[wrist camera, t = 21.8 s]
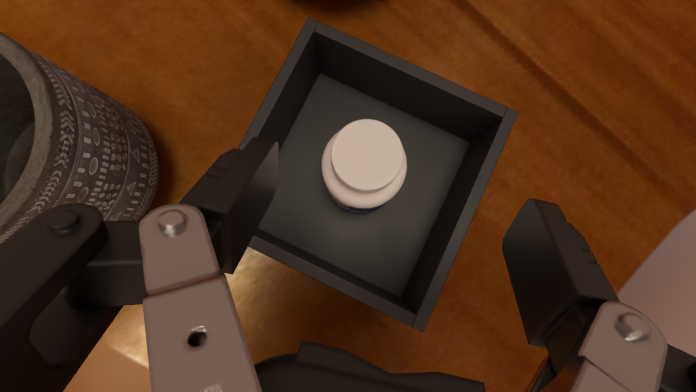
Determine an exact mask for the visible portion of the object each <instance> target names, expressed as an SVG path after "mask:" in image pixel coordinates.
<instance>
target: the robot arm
mask: <svg viewBox="0 0 696 392" xmlns="http://www.w3.org/2000/svg"><path fill="white" fill-rule="evenodd" d="M278 154H279V146H278V142H276V141H271V140H267V139H262V138H258V137H253V138H252V139H251V140H250V141H249V143H248V144H247V145H246V146H245V148H244V149H243V150H240V149H235V148H234V149H232V150H230V151H228V152H226V153H224V154H222V155H221V156H220V157H219V158H218V159H217V160H216V161H215V163H214V164H213V165H212V167H210V168H209V169H208V170H207V172H206V173H205V175H203V176H202V177H201V178H200V180H199V181H198V182H197V183H196V184H195V185H194V186H193V187H192V189H191V190H190V191H189V192H188V193H187V194H186V195H185V197H184V198H183V199H182V200H181V201H180V202H179V203H178V204H169V205H164V206H161V207H158V208H156V209H154V210H152V211H151V212H149V213H148V214H146V215H145V216H144V218H143V219H142V220H136V221H104V219H103V216H102V214H101V212H100V210H99V209H98V208H96V207H94V206H92V205H89V204H83V203H72V204H64V205H60V206H56V207H53V208H50V209H48V210H46V211H43V212H42V213H40V214H38V215H37V216H35V217H34V218H33V219H31V220H30V221H29V222H28V223H26V224H25V225H24V226H23V227H21V228H20V229H19V230H18V231H17V232H15V233H14V234H13V235H12V236H10V237H9V238H8V239H7V240H5V241H4V242H3V243H2V244H0V392H63V391H64V389H65V388H66V386H67V385H68V383H69V382H70V381H71V379H72V377H73V376H74V375H75V374H76V372H77V371H78V369H79V368H80V367H81V365H82V364H83V362H84V361H85V359H86V358H87V357H88V355H89V354H90V352H91V351H92V350H93V348H94V347H95V345H96V344H97V343H98V341H99V340H100V338H101V337H102V335H103V334H104V333H105V331H106V330H107V328H108V327H109V326H110V324H111V323H112V321H113V320H114V318H115V317H116V316H117V314H118V313H119V311H120V310H121V309H122V307H123V306H124V305H136V304H143V312H144V321H145V331H146V341H147V350H148V360H149V369H150V379H151V388H152V392H485V386H484V383H483V382H479V381H475V380H470V379H466V378H462V377H457V376H453V375H449V374H445V373H440V372H429V373H404V374H393V373H389V372H387V371H385V370H383V369H381V368H379V367H377V366H375V365H373V364H371V363H369V362H367V361H365V360H363V359H361V358H360V357H358V356H356V355H354V354H352V353H350V352H348V351H346V350H342V349H338V348H334V347H329V346H325V345H321V344H317V343H312V342H308V341H304V340H301V343H300V346H299V350H298V353H290V354H283V355H277V356H274V357H270V358H267V359H264V360H262V361H260V362H257V363H255V364H253V361H252V358H251V355H250V352H249V348H248V345H247V342H246V339H245V336H244V333H243V329H242V326H241V323H240V320H239V317H238V314H237V310H236V307H235V304H234V301H233V298H232V295H231V291H230V288H229V285H228V282H227V279H226V276H225V274H224V273H228V274H233V273H234V271H235V269H236V267H237V265H238V263H239V262H240V260H241V258H242V256H243V254H244V252H245V250H246V249H247V247H248V245H249V243H250V241H251V239H252V237H253V236H254V234H255V232H256V230H257V228H258V226H259V224H260V223H261V221H262V219H263V217H264V215H265V213H266V211H267V209H268V208H269V206H270V204H271V202H272V200H273V198H274V195H275V192H276V188H277V181H278ZM502 249H503V254H504V258H505V261H506V265H507V269H508V272H509V276H510V279H511V283H512V286H513V290H514V294H515V297H516V301H517V304H518V308H519V312H520V315H521V319H522V322H523V326H524V330H525V333H526V337H527V340H528V344H531V345H535V346H540V347H544V348H547V350H548V353H549V355H548V356H547V357H546V358H545V359H544V360H543V361H542V362H541V364H540V366H539V368H538V369H537V371H536V373H535V375H534V376H533V378H532V380H531V382H530V383H529V385H528V387H527V389H526V390H525V392H696V357H694V356H692V355H690V354H688V353H686V352H683V351H681V350H679V349H677V348H675V347H673V346H671V345H669V344H667V342H666V339H665V337H664V335H663V334H662V332H661V331H660V330H659V328H658V327H657V326H656V325H655V324H654V323H653V322H652V321H651V320H650V319H649V318H648V317H646V316H645V315H644V314H642V313H641V312H639V311H638V310H636V309H634V308H632V307H631V306H629V305H626V304H623V303H620V301H619V299H618V297H617V295H616V294H615V292H614V290H613V288H612V287H611V285H610V283H609V281H608V279H607V278H606V276H605V274H604V272H603V270H602V269H601V267H600V265H599V264H597V260H596V258H595V256H594V254H593V253H591V249H590V247H589V245H588V244H587V242H586V240H585V238H584V237H583V236H582V235H581V234H580V233H579V232H578V231H577V230H576V229H575V228H574V227H573V226H572V225H571V224H570V223H568V222H567V220H566V219H565V217H564V215H563V213H562V211H561V209H560V207H559V206H558V205H557V204H555V203H550V202H546V201H541V200H537V199H528V200H527V201H526V202H525V203H524V205H523V206H522V208H521V210H520V211H519V213H518V214H517V216H516V218H515V219H514V221H513V222H512V224H511V226H510V227H509V229H508V230H507V232H506V234H505V236H504V239H503V246H502ZM221 272H222V273H221ZM223 272H224V273H223Z"/></svg>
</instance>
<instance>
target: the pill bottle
mask: <svg viewBox="0 0 696 392" xmlns="http://www.w3.org/2000/svg"><path fill="white" fill-rule="evenodd" d="M406 171H407V159H406V155H405V151H404V149H403V147H402V144H401V141H400V139H399V137H398V136H397V134H396V133H395V132H394V130H393V129H391V128H390V127H389V126H388V125H386V124H384V123H382V122H380V121H377V120H372V119H362V120H357V121H354V122H352V123H349V124H348V125H346V126H345V127H344V128H342V129H341V130H340V131H339V132H337V133H336V134H335V135H334V136H333V137H332V138H331V140H330V141H329V142H328V144H327V146H326V148H325V150H324V153H323V156H322V174H323V179H324V182H325V185H326V188H327V191H328V194H329V196H330V198H331V199H332V201H333V202H334V203H335V204H336V205H337V206H338V207H339V208H340V209H342V210H344V211H346V212H348V213H352V214H368V213H371V212H374V211H376V210H377V209H379V208H380V207H382V206H383V205H384V204H385V203H387V202H388V201H389V200H390V199H392V198H393V197H394V196H395V195H396V193H397V192H398V191H399V189H400V188H401V186H402V184H403V182H404V180H405V176H406Z"/></svg>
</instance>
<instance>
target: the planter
mask: <svg viewBox="0 0 696 392" xmlns="http://www.w3.org/2000/svg"><path fill="white" fill-rule="evenodd" d="M158 180H159V162H158V156H157V151H156V147H155V144H154V141H153V139H152V137H151V135H150V133H149V131H148V129H147V128H146V126H145V125H144V123H143V122H142V121H141V120H140V119H139V118H138V117H137V116H136V115H135V114H134V113H133V112H132V111H131V110H130V109H128V108H127V107H125V106H124V105H122V104H121V103H119V102H118V101H116V100H115V99H113V98H111V97H110V96H108V95H106V94H105V93H103V92H101V91H99V90H98V89H96V88H94V87H92V86H90V85H88V84H87V83H85V82H84V81H82V80H81V79H79V78H77V77H76V76H74V75H73V74H71V73H69V72H68V71H66V70H65V69H63V68H61V67H59V66H58V65H56V64H54V63H52V62H51V61H49V60H47V59H45V58H44V57H42V56H40V55H38V54H37V53H35V52H33V51H31V50H30V49H28V48H26V47H25V46H23V45H21V44H20V43H18V42H16V41H15V40H13V39H11V38H10V37H8V36H6V35H4V34H3V33H1V32H0V244H2V243H3V242H4V241H5V240H7V239H8V238H9V237H10V236H12V235H13V234H14V233H15V232H17V231H18V230H19V229H20V228H21V227H23V226H24V225H25V224H26V223H28V222H29V221H30V220H31V219H33V218H34V217H35V216H37V215H38V214H40V213H42V212H43V211H46V210H48V209H50V208H53V207H56V206H60V205H64V204H72V203H83V204H89V205H92V206H94V207H96V208H98V209H99V210H100V212H101V214H102V216H103V219H104V221H136V220H141V218H142V217H143V216H144V214H145V213H146V211H147V210H148V208H149V207H150V205H151V203H152V201H153V199H154V196H155V193H156V190H157V186H158Z"/></svg>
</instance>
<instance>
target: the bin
mask: <svg viewBox="0 0 696 392" xmlns="http://www.w3.org/2000/svg"><path fill="white" fill-rule="evenodd" d="M517 115H518V112H517V111H515V110H513V109H511V108H507V107H506V106H504V105H502V104H499V103H497V102H495V101H493V100H491V99H488V98H486V97H484V96H482V95H480V94H477V93H475V92H473V91H471V90H469V89H466V88H464V87H462V86H460V85H458V84H455V83H453V82H451V81H449V80H447V79H444V78H442V77H440V76H438V75H436V74H433V73H431V72H429V71H427V70H425V69H422V68H420V67H418V66H416V65H414V64H411V63H409V62H407V61H405V60H403V59H400V58H398V57H396V56H394V55H392V54H389V53H387V52H385V51H383V50H381V49H378V48H376V47H374V46H372V45H370V44H367V43H365V42H363V41H361V40H359V39H356V38H354V37H352V36H350V35H348V34H345V33H343V32H341V31H339V30H337V29H334V28H332V27H330V26H328V25H326V24H323V23H321V22H318V21H317V20H315V19H312V18H310V17H308V19H307V21H306V23H305V25H304V27H303V28H302V30H301V32H300V34H299V36H298V38H297V40H296V41H295V43H294V45H293V47H292V49H291V51H290V53H289V55H288V56H287V58H286V60H285V62H284V64H283V66H282V68H281V70H280V71H279V73H278V75H277V77H276V79H275V81H274V83H273V84H272V86H271V88H270V90H269V92H268V94H267V96H266V98H265V99H264V101H263V103H262V105H261V107H260V109H259V111H258V112H257V114H256V116H255V118H254V120H253V122H252V124H251V126H250V127H249V129H248V131H247V133H246V135H245V137H244V139H243V141H242V142H241V144H240V146H239V148H238V149H240V150H243V149H244V148H245V146H246V145H247V144H248V143H249V141H250V140H251V139H252V138H253V137H258V138H262V139H267V140H271V141H276V142H278V146H279V154H278V181H277V188H276V192H275V195H274V198H273V200H272V202H271V204H270V206H269V208H268V209H267V211H266V213H265V215H264V217H263V219H262V221H261V223H260V224H259V226H258V228H257V230H256V232H255V234H254V236H253V237H252V239H251V241H250V243H249V245H248V247H250V248H252V249H254V250H256V251H258V252H261V253H263V254H265V255H267V256H269V257H271V258H273V259H275V260H277V261H279V262H281V263H283V264H285V265H287V266H289V267H291V268H293V269H295V270H297V271H299V272H301V273H303V274H305V275H307V276H309V277H311V278H313V279H315V280H317V281H319V282H321V283H323V284H325V285H328V286H330V287H332V288H334V289H336V290H338V291H340V292H342V293H344V294H346V295H348V296H350V297H352V298H354V299H356V300H358V301H360V302H362V303H364V304H366V305H368V306H370V307H372V308H374V309H376V310H378V311H380V312H382V313H384V314H386V315H388V316H390V317H392V318H394V319H397V320H399V321H401V322H403V323H405V324H407V325H409V326H411V327H413V328H415V329H417V330H419V331H421V332H423V331H424V329H425V327H426V325H427V322H428V320H429V318H430V315H431V313H432V311H433V308H434V306H435V304H436V302H437V299H438V297H439V295H440V292H441V290H442V288H443V285H444V283H445V281H446V278H447V276H448V274H449V272H450V269H451V267H452V265H453V262H454V260H455V258H456V255H457V253H458V251H459V249H460V246H461V244H462V242H463V239H464V237H465V235H466V232H467V230H468V228H469V225H470V223H471V221H472V219H473V216H474V214H475V212H476V209H477V207H478V205H479V202H480V200H481V198H482V196H483V193H484V191H485V189H486V186H487V184H488V182H489V179H490V177H491V175H492V173H493V170H494V168H495V166H496V163H497V161H498V159H499V156H500V154H501V152H502V149H503V147H504V145H505V143H506V140H507V138H508V136H509V133H510V131H511V129H512V126H513V124H514V122H515V120H516V117H517ZM362 119H372V120H377V121H380V122H382V123H384V124H386V125H388V126H389V127H390V128H391V129H393V130H394V132H395V133H396V134H397V136H398V137H399V139H400V141H401V144H402V147H403V149H404V151H405V155H406V159H407V171H406V176H405V180H404V182H403V184H402V186H401V188H400V189H399V191H398V192H397V193H396V195H395V196H394V197H393V198H392V199H390V200H389V201H388V202H387V203H385V204H384V205H383V206H382V207H380V208H379V209H377V210H376V211H374V212H371V213H368V214H352V213H348V212H346V211H344V210H342V209H340V208H339V207H338V206H337V205H336V204H335V203H334V202H333V201H332V199H331V198H330V196H329V194H328V191H327V188H326V185H325V182H324V179H323V174H322V156H323V153H324V150H325V148H326V146H327V144H328V142H329V141H330V140H331V138H332V137H333V136H334V135H335V134H336V133H337V132H339V131H340V130H341V129H342V128H344V127H345V126H346V125H348V124H349V123H352V122H354V121H357V120H362Z"/></svg>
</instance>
